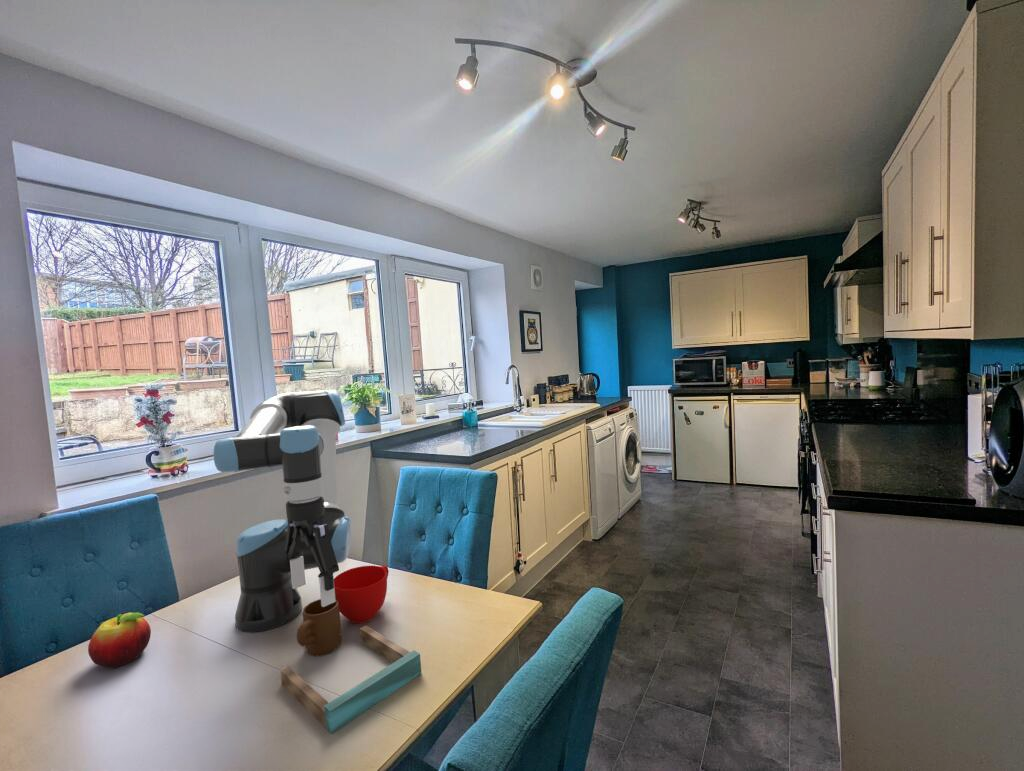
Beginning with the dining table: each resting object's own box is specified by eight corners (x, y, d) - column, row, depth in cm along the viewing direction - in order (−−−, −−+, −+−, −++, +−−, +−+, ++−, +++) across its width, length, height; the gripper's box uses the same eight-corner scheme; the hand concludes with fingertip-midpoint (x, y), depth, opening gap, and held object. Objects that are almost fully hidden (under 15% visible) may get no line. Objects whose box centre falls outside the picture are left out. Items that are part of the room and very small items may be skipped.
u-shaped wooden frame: (281, 684, 93) (280, 665, 93) (366, 638, 107) (365, 621, 107) (331, 733, 80) (329, 711, 79) (421, 672, 94) (419, 653, 94)
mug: (318, 672, 96) (314, 628, 95) (285, 670, 97) (281, 626, 97) (348, 637, 108) (345, 597, 107) (318, 636, 109) (315, 596, 109)
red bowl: (409, 598, 124) (406, 562, 123) (366, 635, 108) (363, 593, 108) (369, 592, 129) (366, 556, 128) (323, 626, 113) (320, 585, 113)
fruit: (114, 647, 110) (110, 606, 109) (164, 642, 111) (159, 601, 110) (76, 678, 99) (71, 632, 98) (131, 672, 100) (126, 626, 99)
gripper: (263, 494, 106) (271, 586, 107) (315, 512, 89) (324, 620, 91) (296, 486, 112) (304, 573, 113) (351, 502, 95) (359, 604, 96)
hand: (313, 594), depth 102 cm, fingers open, 13 cm apart
